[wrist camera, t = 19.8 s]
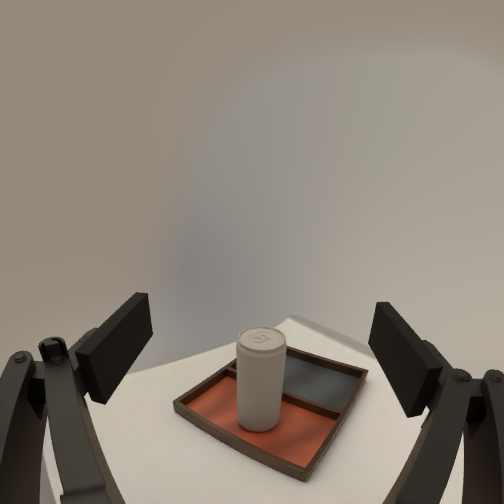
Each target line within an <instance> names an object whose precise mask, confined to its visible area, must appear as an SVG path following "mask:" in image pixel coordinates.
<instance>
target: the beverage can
mask: <svg viewBox="0 0 504 504" xmlns="http://www.w3.org/2000/svg"><path fill="white" fill-rule="evenodd" d="M286 347H287V345H286V337H285V335H284V333H283V332H281V331H280V330H278V329H276V328H273V327H268V326H253V327H249V328H246V329H244V330H243V331H241V332H240V333H239V335H238V340H237V344H236V357H237V418H238V422H239V423H240V425H241V426H243V427H244V428H245V429H247V430H250V431H254V432H262V431H267V430H270V429H271V428H273V427H275V425H276V424H277V423H278V420H279V414H280V406H281V397H282V388H283V378H284V368H285V358H286Z"/></svg>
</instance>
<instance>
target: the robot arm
mask: <svg viewBox="0 0 504 504" xmlns="http://www.w3.org/2000/svg"><path fill="white" fill-rule="evenodd" d="M152 335H153V331H152V324H151V316H150V308H149V300H148V293H137V292H136V293H135V294H134V295H133V296H132V297H131V298H129V299H128V300H127V301H126V302H125V303H124V304H123V305H122V306H121V307H120V308H119V309H118V310H117V311H116V312H115V313H114V314H113V315H111V316H110V317H109V318H108V319H107V320H106V321H105V322H104V323H103V324H102V325H101V326H100V327H99V328H94V329H92V330H90V331H88V332H87V333H85V334H84V335H83V336H82V338H80V339H79V340H78V342H76V343H75V344H74V345H73V346H72V347H71V348H70V349H69V350H67V347H66V344H65V341H64V339H62V338H60V337H50V338H47V339H44V340H43V341H41V342H40V343H39V346H38V348H39V351H40V353H41V356H42V359H43V362H42V361H34V360H33V357H32V355H31V353H29V352H28V351H19V352H16V353H15V354H13V355H12V356H11V357H10V359H9V361H8V363H7V365H6V367H5V369H4V371H3V373H2V376H1V378H0V504H39V503H40V501H39V500H40V497H39V496H40V473H41V461H42V451H43V443H44V435H45V428H46V422H47V416H48V420H49V427H50V434H51V440H52V445H53V450H54V455H55V460H56V464H57V468H58V473H59V476H60V480H61V484H62V487H63V492H64V494H63V495H60V502H61V504H126V503H125V501H124V499H123V497H122V495H121V493H120V491H119V489H118V487H117V485H116V483H115V481H114V478H113V476H112V474H111V471H110V469H109V467H108V464H107V462H106V459H105V457H104V454H103V452H102V449H101V446H100V444H99V441H98V438H97V435H96V432H95V429H94V426H93V423H92V420H91V417H90V413H89V410H88V406H87V403H86V400H85V398H84V396H85V395H86V393H87V392H88V393H89V395H90V398H91V400H92V401H94V402H97V403H101V404H104V405H106V403H107V402H108V400H109V399H110V397H111V396H112V394H113V393H114V391H115V390H116V388H117V387H118V385H119V384H120V382H121V381H122V379H123V378H124V376H125V375H126V373H127V372H128V370H129V369H130V367H131V366H132V364H133V363H134V361H135V360H136V358H137V357H138V355H139V354H140V353H141V351H142V350H143V348H144V347H145V345H146V344H147V342H148V341H149V340H150V338H151V337H152ZM368 344H369V346H370V347H371V349H372V351H373V353H374V355H375V357H376V358H377V360H378V362H379V364H380V366H381V368H382V370H383V371H384V373H385V375H386V377H387V379H388V381H389V383H390V385H391V387H392V389H393V390H394V392H395V394H396V396H397V398H398V400H399V402H400V404H401V406H402V408H403V410H404V412H405V414H406V416H407V418H410V417H415V416H419V415H422V413H423V411H424V409H425V407H426V405H427V407H428V409H429V410H430V411H429V413H428V415H427V417H426V419H425V421H424V422H423V424H422V426H421V428H422V429H421V432H420V434H419V436H418V438H417V441H416V443H415V445H414V447H413V449H412V451H411V453H410V455H409V457H408V459H407V461H406V463H405V465H404V467H403V469H402V471H401V473H400V475H399V477H398V478H397V480H396V482H395V484H394V485H393V487H392V489H391V490H390V492H389V494H388V495H387V497H386V499H385V500H384V502H383V503H382V504H439V503H440V500H441V498H442V495H443V493H444V490H445V488H446V485H447V482H448V480H449V477H450V474H451V471H452V468H453V465H454V462H455V459H456V455H457V452H458V448H459V445H460V441H461V437H462V433H463V436H464V479H463V495H462V504H504V374H503V373H502V372H500V371H499V370H494V369H493V370H488V371H487V372H486V373H485V375H484V377H483V379H472V377H471V375H470V374H469V373H468V372H466V371H465V370H462V369H457V368H456V369H453V368H452V366H451V365H450V364H449V363H448V362H447V360H446V359H445V358H444V357H443V356H442V355H441V354H440V352H439V351H438V350H437V349H436V347H435V346H434V345H433V344H431V343H430V342H428V341H426V340H421V339H420V338H419V336H418V335H417V334H416V333H415V332H414V330H413V329H412V328H411V327H410V326H409V325H408V324H407V322H406V321H405V320H404V319H403V318H402V317H401V316H400V315H399V313H398V312H397V311H396V310H395V309H394V308H393V307H392V305H391V304H390V303H389V302H377V304H376V309H375V314H374V318H373V323H372V328H371V332H370V337H369V341H368Z"/></svg>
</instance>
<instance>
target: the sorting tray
mask: <svg viewBox="0 0 504 504" xmlns="http://www.w3.org/2000/svg"><path fill="white" fill-rule="evenodd" d="M367 374H368V370H366V369H362V368H359V367H355V366H352V365H348V364H344V363H341V362H337V361H334V360H331V359H327V358H324V357H321V356H317V355H314V354H311V353H308V352H305V351H301V350H298V349H295V348H292V347H289V346H287V347H286V358H285V368H284V378H283V388H282V397H281V406H280V414H279V420H278V423H277V424H276V425H275V427H273V428H271V429H270V430H267V431H262V432H254V431H250V430H247V429H245V428H244V427H243V426H241V425H240V423H239V422H238V418H237V358H236V359H234V360H233V361H231V362H230V363H229V364H227V365H226V366H224V367H223V368H222V369H220V370H219V371H217V372H216V373H214V374H213V375H211V376H210V377H209V378H207V379H206V380H204V381H203V382H201V383H200V384H198V385H197V386H195V387H194V388H192V389H191V390H189V391H188V392H186V393H185V394H183V395H182V396H180V397H178V398H177V399H175V400H174V401H173V405H174V410H175V412H176V413H178V414H179V415H181V416H182V417H184V418H185V419H187V420H188V421H190V422H191V423H193V424H194V425H196V426H197V427H199V428H200V429H202V430H204V431H205V432H207V433H208V434H210V435H212V436H213V437H215V438H217V439H218V440H220V441H222V442H223V443H225V444H227V445H229V446H230V447H232V448H234V449H236V450H238V451H239V452H241V453H243V454H245V455H247V456H249V457H251V458H253V459H255V460H257V461H259V462H261V463H263V464H265V465H267V466H269V467H271V468H273V469H275V470H277V471H280V472H282V473H284V474H286V475H289V476H291V477H293V478H296V479H298V480H301V481H303V482H306V480H307V479H308V478H309V476H310V475H311V473H312V472H313V470H314V469H315V467H316V466H317V465H318V463H319V462H320V460H321V458H322V457H323V455H324V454H325V452H326V451H327V449H328V448H329V446H330V444H331V443H332V441H333V439H334V438H335V436H336V434H337V433H338V431H339V429H340V428H341V426H342V424H343V422H344V421H345V419H346V417H347V415H348V413H349V412H350V410H351V408H352V406H353V404H354V402H355V400H356V398H357V396H358V394H359V392H360V390H361V388H362V386H363V384H364V382H365V380H366V377H367Z"/></svg>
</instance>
